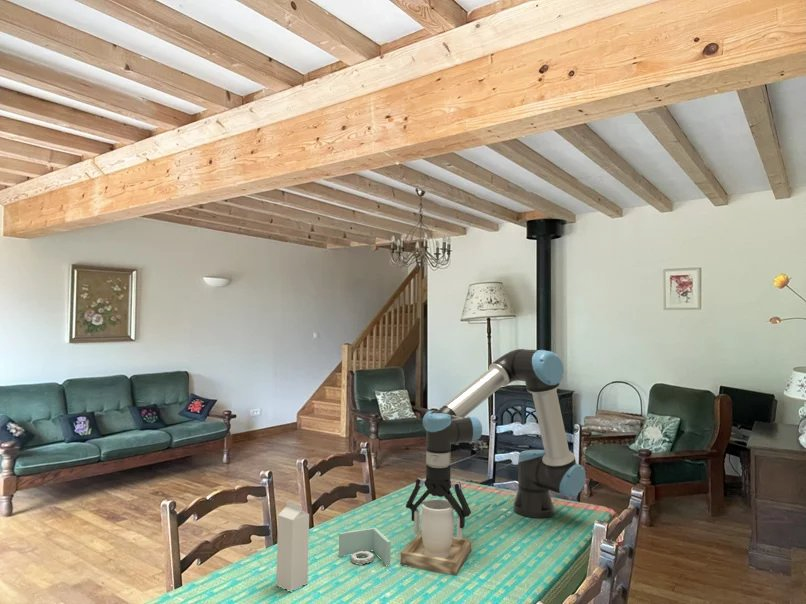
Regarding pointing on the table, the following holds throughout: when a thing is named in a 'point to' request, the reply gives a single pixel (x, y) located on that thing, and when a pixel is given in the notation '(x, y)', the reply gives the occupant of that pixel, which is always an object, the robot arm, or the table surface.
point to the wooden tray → (450, 565)
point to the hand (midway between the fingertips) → (437, 535)
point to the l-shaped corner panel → (364, 545)
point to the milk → (292, 547)
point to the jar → (437, 527)
